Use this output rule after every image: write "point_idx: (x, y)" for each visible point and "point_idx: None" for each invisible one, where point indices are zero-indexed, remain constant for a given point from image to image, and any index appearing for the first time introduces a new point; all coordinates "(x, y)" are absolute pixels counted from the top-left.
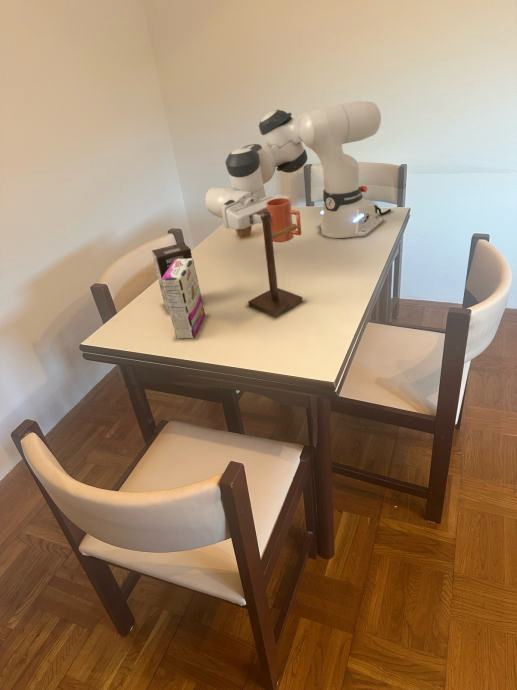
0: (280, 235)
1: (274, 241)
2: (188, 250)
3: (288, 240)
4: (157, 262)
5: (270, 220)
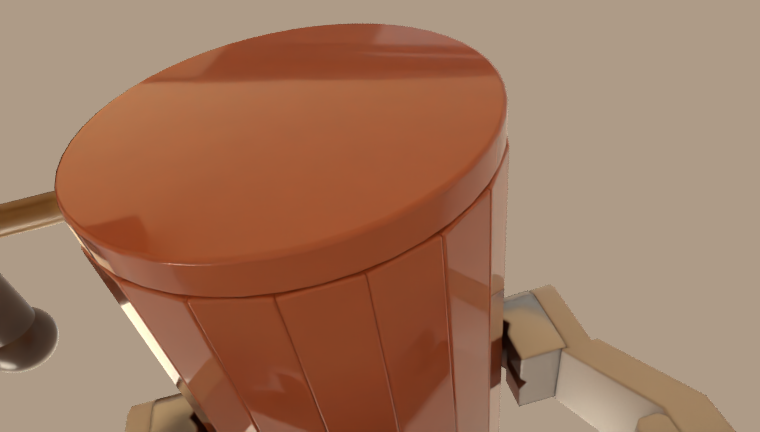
0: (34, 197)
1: (70, 157)
2: None
3: (234, 47)
4: None
5: (28, 304)
